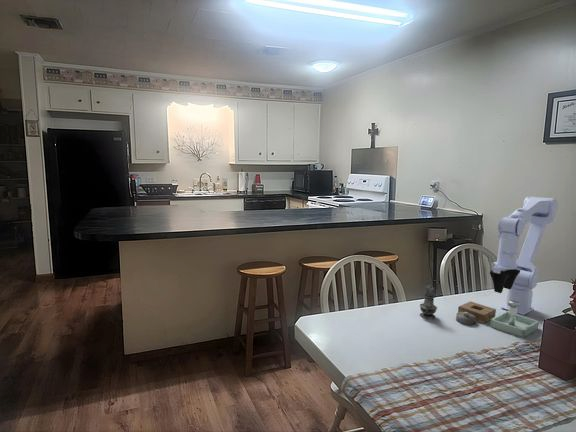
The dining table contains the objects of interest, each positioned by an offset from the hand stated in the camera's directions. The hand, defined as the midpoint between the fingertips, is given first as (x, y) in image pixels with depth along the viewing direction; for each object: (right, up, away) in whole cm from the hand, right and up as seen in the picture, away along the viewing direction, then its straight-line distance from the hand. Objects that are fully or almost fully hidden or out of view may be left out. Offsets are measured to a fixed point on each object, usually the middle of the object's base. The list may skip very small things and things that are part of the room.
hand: (502, 290), depth 130 cm
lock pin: (0, -11, -5) cm, 12 cm away
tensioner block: (-10, -10, +2) cm, 14 cm away
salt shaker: (-25, -10, +2) cm, 27 cm away
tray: (+1, -11, -5) cm, 12 cm away
